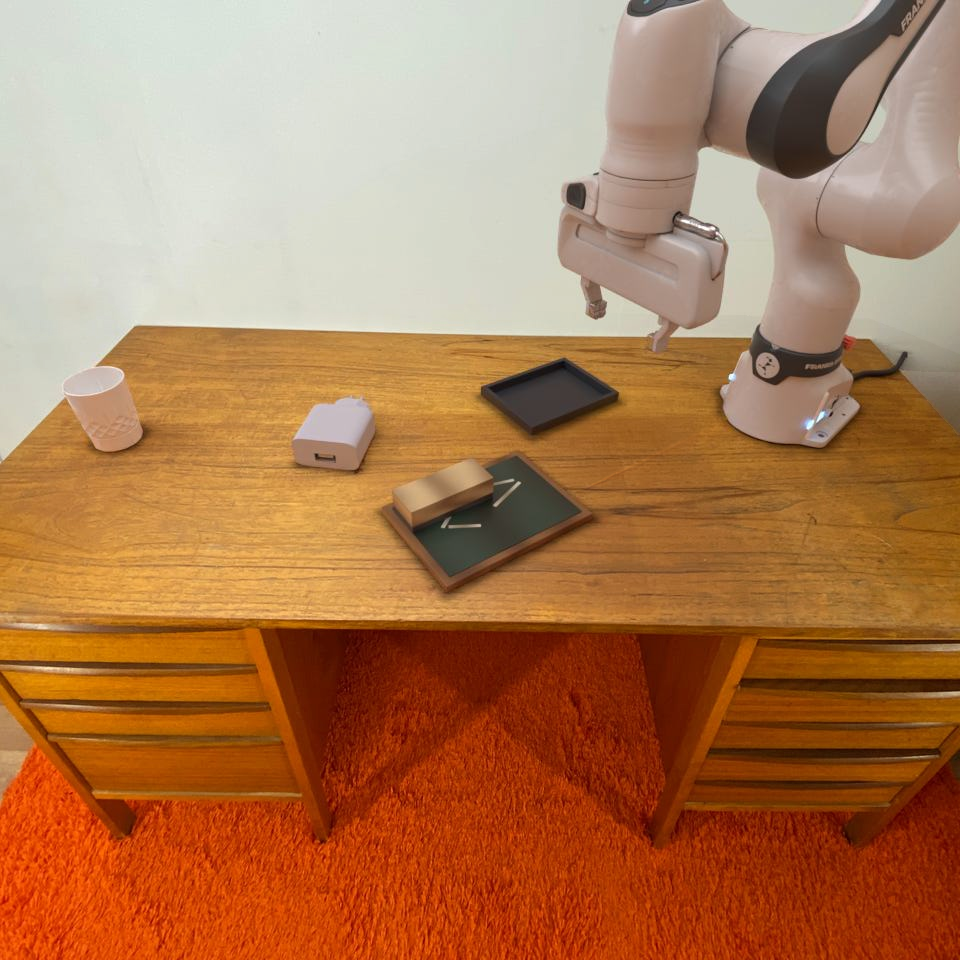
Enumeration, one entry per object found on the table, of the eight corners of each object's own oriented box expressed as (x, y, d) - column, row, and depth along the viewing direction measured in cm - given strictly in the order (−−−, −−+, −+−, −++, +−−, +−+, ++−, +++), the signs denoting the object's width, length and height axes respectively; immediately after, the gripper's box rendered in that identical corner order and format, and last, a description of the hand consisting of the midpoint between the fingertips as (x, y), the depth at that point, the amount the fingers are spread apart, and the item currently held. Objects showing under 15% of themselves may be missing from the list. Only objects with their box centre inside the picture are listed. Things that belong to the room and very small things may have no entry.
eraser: (472, 477, 87) (472, 457, 84) (493, 497, 83) (493, 477, 81) (393, 510, 81) (391, 489, 79) (412, 533, 78) (411, 512, 76)
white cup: (159, 431, 96) (136, 373, 90) (116, 460, 91) (89, 401, 84) (120, 418, 99) (96, 361, 92) (76, 446, 93) (47, 387, 87)
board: (517, 455, 92) (518, 449, 92) (591, 519, 82) (593, 512, 81) (381, 513, 83) (380, 506, 82) (446, 593, 73) (446, 586, 72)
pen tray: (563, 367, 112) (564, 356, 110) (617, 403, 103) (619, 392, 102) (480, 397, 104) (480, 386, 103) (531, 438, 96) (532, 427, 94)
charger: (387, 412, 101) (358, 471, 89) (330, 406, 102) (295, 464, 90) (384, 386, 98) (354, 444, 86) (326, 381, 99) (289, 437, 87)
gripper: (756, 223, 55) (719, 364, 64) (597, 169, 68) (585, 292, 77) (706, 239, 52) (675, 383, 61) (550, 180, 65) (544, 306, 74)
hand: (624, 332), depth 69 cm, fingers open, 8 cm apart
